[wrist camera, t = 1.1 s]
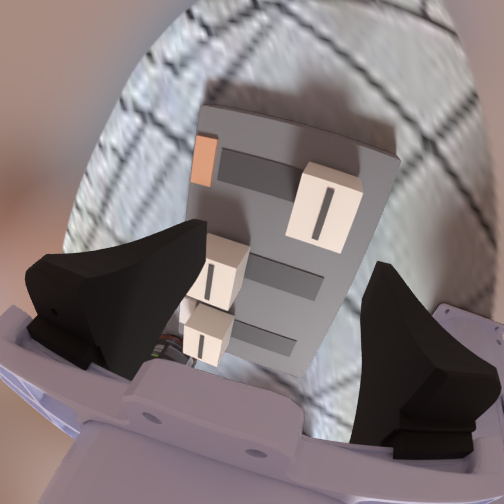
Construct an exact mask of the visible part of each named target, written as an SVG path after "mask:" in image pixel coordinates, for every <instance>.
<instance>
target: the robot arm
mask: <svg viewBox="0 0 504 504" xmlns="http://www.w3.org/2000/svg"><path fill="white" fill-rule="evenodd" d="M206 242H207V221H203V220H198V219H191V220H188V221H185V222H182V223H180V224H177V225H175V226H173V227H170V228H168V229H165V230H163V231H160V232H158V233H155V234H153V235H150V236H147V237H145V238H142V239H139V240H136V241H133V242H130V243H126V244H123V245H119V246H115V247H110V248H105V249H100V250H95V251H88V252H80V253H69V254H46V255H45V256H43V257H42V258H41V259H40V260H38V261H37V262H36V263H35V264H33V265H32V266H31V267H30V268H29V269H28V270H27V271H26V274H25V283H26V287H27V290H28V293H29V295H30V298H31V300H32V303H33V305H34V307H35V310H36V312H37V314H38V315H37V316H36V317H35V318H34V319H32V318H31V317H30V316H29V315H28V314H27V313H26V312H24V311H23V310H21V309H20V308H18V307H17V306H15V305H12V306H11V307H10V308H9V309H8V310H7V311H6V312H4V313H3V314H2V315H1V316H0V378H1V379H2V380H3V381H4V382H5V383H6V384H7V385H8V386H9V387H10V388H11V389H12V390H14V391H15V392H16V393H17V394H18V395H19V396H20V397H22V398H23V399H24V400H25V401H26V402H27V403H29V404H30V405H31V406H32V407H33V408H34V409H36V410H37V411H38V412H39V413H41V414H42V415H43V416H44V417H45V418H47V419H48V420H49V421H51V422H52V423H53V424H54V425H56V426H57V427H58V428H60V429H61V430H62V431H64V432H65V433H66V434H68V435H69V436H70V437H72V438H73V439H75V441H74V443H73V444H72V446H71V448H70V449H69V451H68V452H67V454H66V456H65V457H64V459H63V461H62V462H61V464H60V465H59V467H58V469H57V471H56V472H55V474H54V476H53V477H52V479H51V480H50V482H49V484H48V486H47V487H46V489H45V491H44V492H43V494H42V496H41V498H40V499H39V501H38V503H37V504H504V340H503V337H502V335H503V334H504V324H501V323H498V322H495V321H493V320H490V319H487V318H484V317H482V316H479V315H476V314H473V313H470V312H468V311H465V310H462V309H459V308H456V307H453V306H451V305H448V304H445V303H443V304H440V305H439V306H438V308H437V309H436V311H435V312H434V314H433V315H431V314H430V313H429V312H428V311H427V310H426V309H425V307H424V306H423V305H422V304H421V303H420V301H419V300H418V299H417V298H416V296H415V295H414V294H413V292H412V291H411V290H410V288H409V287H408V286H407V284H406V283H405V282H404V280H403V279H402V278H401V276H400V275H399V274H398V272H397V271H396V270H395V268H394V267H393V266H392V265H391V264H388V263H384V262H380V261H377V263H376V265H375V268H374V270H373V273H372V275H371V278H370V280H369V283H368V285H367V288H366V290H365V293H364V295H363V298H362V303H361V316H360V326H361V350H362V373H361V382H360V391H359V397H358V404H357V410H356V415H355V420H354V425H353V430H352V434H351V438H350V442H349V443H342V442H335V441H329V440H323V439H317V438H311V437H308V436H305V435H303V434H302V430H303V425H304V411H303V410H302V409H301V408H300V407H299V406H298V405H297V404H295V403H294V402H293V401H292V400H291V399H290V398H288V397H285V396H283V395H280V394H278V393H275V392H273V391H270V390H266V389H262V388H258V387H255V386H251V385H247V384H244V383H240V382H237V381H233V380H230V379H226V378H223V377H220V376H217V375H213V374H210V373H207V372H204V371H201V370H198V369H195V368H192V367H189V366H186V365H183V364H180V363H178V362H174V361H169V360H164V359H153V360H149V358H150V356H151V354H152V352H153V350H154V348H155V346H156V344H157V341H158V339H159V337H160V335H161V334H162V332H163V330H164V328H165V326H166V324H167V322H168V321H169V319H170V317H171V316H172V314H173V313H174V311H175V310H176V308H177V307H178V306H179V304H180V303H181V301H182V300H183V299H184V297H185V296H186V294H187V293H188V292H189V290H190V289H191V287H192V286H193V284H194V283H195V281H196V280H197V278H198V276H199V274H200V273H201V271H202V268H203V266H204V264H205V262H206ZM447 309H449V310H448V311H446V310H447Z"/></svg>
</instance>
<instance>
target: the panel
mask: <svg viewBox="0 0 504 504" xmlns="http://www.w3.org/2000/svg"><path fill="white" fill-rule="evenodd" d="M309 162H313V163H316V164H319V165H322V166H326V167H329V168H332V169H335V170H338V171H341V172H344V173H347V174H350V175H353V176H356V177H358V178H361V182H362V188H363V195H362V198H361V201H360V204H359V207H358V209H357V212H356V215H355V217H354V220H353V223H352V225H351V228H350V231H349V233H348V236H347V239H346V241H345V244H344V246H343V249H342V251H341V254H340V253H337V252H334V251H331V250H328V249H325V248H322V247H319V246H316V245H313V244H310V243H307V242H304V241H301V240H298V239H295V238H292V237H289V236H286V235H285V234H286V231H287V227H288V224H289V220H290V217H291V213H292V209H293V206H294V202H295V199H296V195H297V191H298V188H299V184H300V180H301V177H302V173H303V171H304V170H305V168H306V166H307V164H308V163H309ZM400 163H401V160H400V159H399V158H398V156H397V155H394V154H392V153H389V152H387V151H384V150H381V149H379V148H376V147H373V146H370V145H368V144H365V143H362V142H359V141H356V140H353V139H350V138H347V137H344V136H341V135H338V134H335V133H331V132H328V131H325V130H322V129H318V128H315V127H311V126H308V125H304V124H300V123H297V122H293V121H289V120H285V119H281V118H277V117H273V116H269V115H265V114H260V113H256V112H251V111H246V110H241V109H236V108H231V107H226V106H221V105H215V104H208V105H201V106H200V112H199V118H198V125H197V131H196V138H195V145H194V153H193V160H192V168H191V176H190V184H189V193H188V202H187V212H186V221H188V220H191V219H198V220H203V221H207V234H208V233H210V234H213V235H216V236H219V237H222V238H226V239H229V240H232V241H235V242H238V243H241V244H244V245H247V246H250V251H249V256H248V260H247V265H246V269H245V274H244V278H243V282H242V287H241V289H240V291H239V292H238V294H237V296H236V298H235V299H234V301H233V303H232V305H231V307H230V308H229V310H228V311H227V310H224V309H221V308H219V307H216V306H213V305H211V304H208V303H205V302H203V301H200V300H198V299H195V298H193V297H190V296H188V295H186V296H185V297H184V299H183V300H182V301H181V303H180V305H179V328H178V333H180V334H182V335H184V325H185V323H186V322H187V320H188V319H189V318H190V316H191V315H192V313H193V312H194V310H195V309H196V307H197V306H198V305H199V303H201V304H204V305H206V306H209V307H211V308H214V309H217V310H219V311H222V312H225V313H227V314H230V315H233V316H235V318H234V323H233V327H232V332H231V336H230V340H229V344H228V346H227V348H226V350H225V352H226V353H229V354H232V355H234V356H237V357H240V358H243V359H245V360H248V361H251V362H254V363H257V364H259V365H262V366H265V367H268V368H271V369H274V370H277V371H280V372H283V373H286V374H289V375H292V376H296V377H299V378H302V377H303V376H304V374H305V372H306V370H307V369H308V367H309V365H310V363H311V362H312V360H313V358H314V356H315V354H316V353H317V351H318V349H319V347H320V345H321V343H322V342H323V340H324V338H325V336H326V334H327V332H328V330H329V328H330V326H331V324H332V323H333V321H334V319H335V317H336V315H337V313H338V311H339V309H340V307H341V305H342V303H343V301H344V299H345V297H346V294H347V292H348V290H349V288H350V286H351V284H352V282H353V280H354V278H355V275H356V273H357V271H358V269H359V267H360V264H361V262H362V260H363V258H364V255H365V253H366V251H367V249H368V246H369V244H370V242H371V239H372V237H373V234H374V232H375V230H376V227H377V225H378V222H379V220H380V217H381V215H382V212H383V210H384V207H385V205H386V202H387V199H388V197H389V194H390V191H391V189H392V186H393V183H394V180H395V178H396V175H397V172H398V169H399V166H400Z"/></svg>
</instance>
